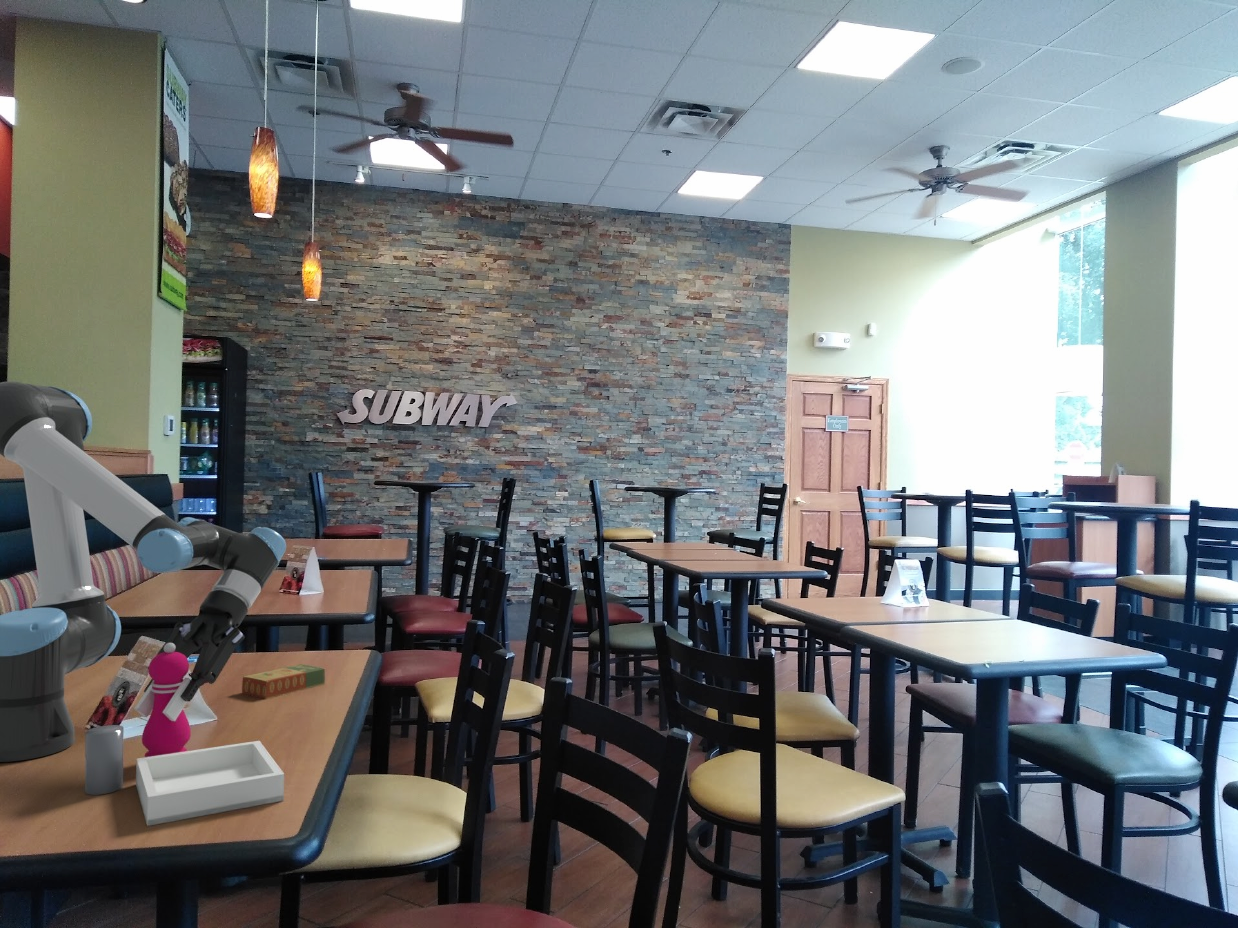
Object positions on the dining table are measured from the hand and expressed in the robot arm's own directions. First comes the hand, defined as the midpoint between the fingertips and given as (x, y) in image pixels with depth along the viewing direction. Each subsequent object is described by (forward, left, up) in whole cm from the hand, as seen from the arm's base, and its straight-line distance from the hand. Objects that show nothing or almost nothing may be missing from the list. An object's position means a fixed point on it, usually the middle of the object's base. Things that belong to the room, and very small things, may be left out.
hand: (154, 714), depth 139 cm
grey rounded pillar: (-7, -6, -9) cm, 13 cm away
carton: (+30, +42, -9) cm, 52 cm away
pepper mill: (+2, +2, -9) cm, 9 cm away
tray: (+6, -15, -9) cm, 19 cm away
